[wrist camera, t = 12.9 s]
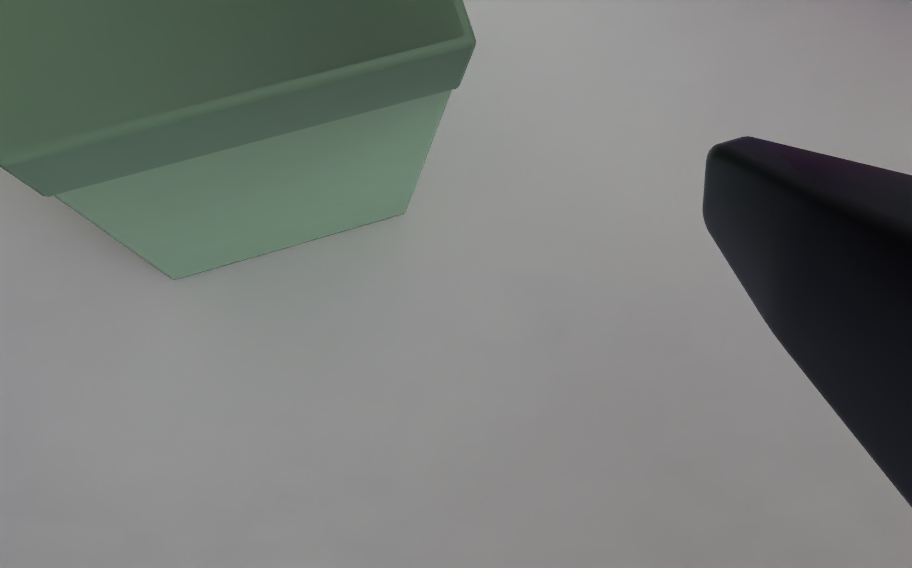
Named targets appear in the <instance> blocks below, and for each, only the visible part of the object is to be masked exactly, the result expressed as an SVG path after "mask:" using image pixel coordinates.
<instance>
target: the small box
mask: <svg viewBox="0 0 912 568" xmlns="http://www.w3.org/2000/svg"><path fill="white" fill-rule="evenodd" d="M475 45H476V39H475V36H474V33H473V30H472V27H471V24H470V21H469V18H468V15H467V12H466V9H465V6H464V3H463V0H0V167H1V168H3V169H4V170H6V171H7V172H9V173H10V174H12V175H13V176H15V177H16V178H18V179H19V180H21V181H22V182H23V183H25V184H26V185H28V186H29V187H31V188H32V189H34V190H35V191H37V192H38V193H40V194H41V195H43V196H48V197H49V196H52V195H53V196H55V197H56V198H58V199H59V200H61V201H62V202H63V203H65V204H66V205H68V206H69V207H71V208H72V209H73V210H75V211H76V212H78V213H79V214H80V215H82V216H83V217H85V218H86V219H88V220H89V221H90V222H92V223H93V224H95V225H96V226H97V227H99V228H100V229H102V230H103V231H105V232H106V233H107V234H109V235H110V236H112V237H113V238H114V239H116V240H117V241H119V242H120V243H122V244H123V245H124V246H126V247H127V248H129V249H130V250H132V251H133V252H134V253H136V254H137V255H139V256H140V257H141V258H143V259H144V260H146V261H147V262H149V263H150V264H151V265H153V266H154V267H156V268H157V269H158V270H160V271H161V272H163V273H164V274H166V275H167V276H168V277H170V278H171V279H174V280H175V279H179V278H182V277H186V276H189V275H193V274H196V273H200V272H203V271H207V270H210V269H214V268H217V267H220V266H224V265H227V264H231V263H234V262H238V261H241V260H245V259H248V258H252V257H255V256H259V255H262V254H265V253H269V252H272V251H276V250H279V249H283V248H286V247H290V246H293V245H297V244H300V243H304V242H307V241H311V240H314V239H317V238H321V237H324V236H328V235H331V234H335V233H338V232H342V231H345V230H349V229H352V228H356V227H359V226H362V225H366V224H369V223H373V222H376V221H380V220H383V219H387V218H390V217H394V216H397V215H401V214H404V213H405V212H406V209H407V206H408V204H409V201H410V198H411V196H412V193H413V191H414V188H415V185H416V183H417V180H418V177H419V175H420V172H421V169H422V167H423V164H424V162H425V159H426V156H427V154H428V151H429V148H430V146H431V143H432V140H433V138H434V135H435V133H436V130H437V127H438V125H439V122H440V119H441V117H442V114H443V111H444V109H445V106H446V104H447V101H448V98H449V96H450V93H451V90H452V89H456V88H457V87H459V85H460V83H461V80H462V78H463V75H464V73H465V70H466V68H467V65H468V63H469V60H470V58H471V55H472V53H473V50H474V48H475Z"/></svg>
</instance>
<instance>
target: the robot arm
mask: <svg viewBox="0 0 912 568" xmlns="http://www.w3.org/2000/svg"><path fill="white" fill-rule="evenodd" d="M703 217H704V221H705V224H706V227H707V229H708V231H709V233H710V234H711V236H712V238H713V239H714V241H715V242H716V244H717V246H718V247H719V249H720V250H721V252H722V253H723V255H724V257H725V258H726V260H727V261H728V263H729V265H730V266H731V268H732V269H733V271H734V273H735V274H736V276H737V277H738V279H739V281H740V282H741V284H742V285H743V287H744V289H745V290H746V292H747V293H748V295H749V297H750V298H751V300H752V301H753V303H754V305H755V306H756V308H757V309H758V311H759V313H760V314H761V316H762V317H763V319H764V320H765V322H766V323H767V325H768V326H769V328H770V329H771V331H772V332H773V334H774V335H775V336H776V337H777V339H778V340H779V341H780V343H781V344H782V345H783V347H784V348H785V349H786V351H787V352H788V353H789V354H790V356H791V357H792V358H793V359H794V361H795V362H796V363H797V364H798V366H799V367H800V368H801V369H802V371H803V372H804V373H805V374H806V376H807V377H808V378H809V379H810V381H811V382H812V383H813V384H814V386H815V387H816V388H817V389H818V391H819V392H820V393H821V394H822V396H823V397H824V398H825V399H826V401H827V402H828V403H829V404H830V406H831V407H832V408H833V409H834V411H835V412H836V413H837V414H838V416H839V417H840V418H841V419H842V421H843V422H844V423H845V424H846V426H847V427H848V428H849V430H850V431H851V432H852V433H853V435H854V436H855V437H856V438H857V440H858V441H859V442H860V443H861V445H862V446H863V447H864V448H865V450H866V451H867V452H868V453H869V455H870V456H871V457H872V458H873V460H874V461H875V462H876V463H877V465H878V466H879V467H880V468H881V470H882V471H883V472H884V473H885V475H886V476H887V477H888V478H889V480H890V481H891V482H892V483H893V485H894V486H895V487H896V488H897V490H898V491H899V492H900V493H901V495H902V496H903V497H904V498H905V500H906V501H907V502H908V503H909V505H910V506H911V507H912V175H908V174H903V173H899V172H895V171H891V170H887V169H883V168H878V167H874V166H870V165H866V164H862V163H858V162H854V161H849V160H845V159H841V158H837V157H833V156H829V155H824V154H820V153H816V152H812V151H808V150H804V149H800V148H795V147H791V146H787V145H783V144H779V143H775V142H770V141H766V140H762V139H758V138H754V137H749V136H747V137H740V138H737V139H733V140H730V141H727V142H723V143H720V144H717V145H715V146H713V147H712V148H711V149H710V151H709V153H708V155H707V160H706V171H705V184H704V197H703Z"/></svg>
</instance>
